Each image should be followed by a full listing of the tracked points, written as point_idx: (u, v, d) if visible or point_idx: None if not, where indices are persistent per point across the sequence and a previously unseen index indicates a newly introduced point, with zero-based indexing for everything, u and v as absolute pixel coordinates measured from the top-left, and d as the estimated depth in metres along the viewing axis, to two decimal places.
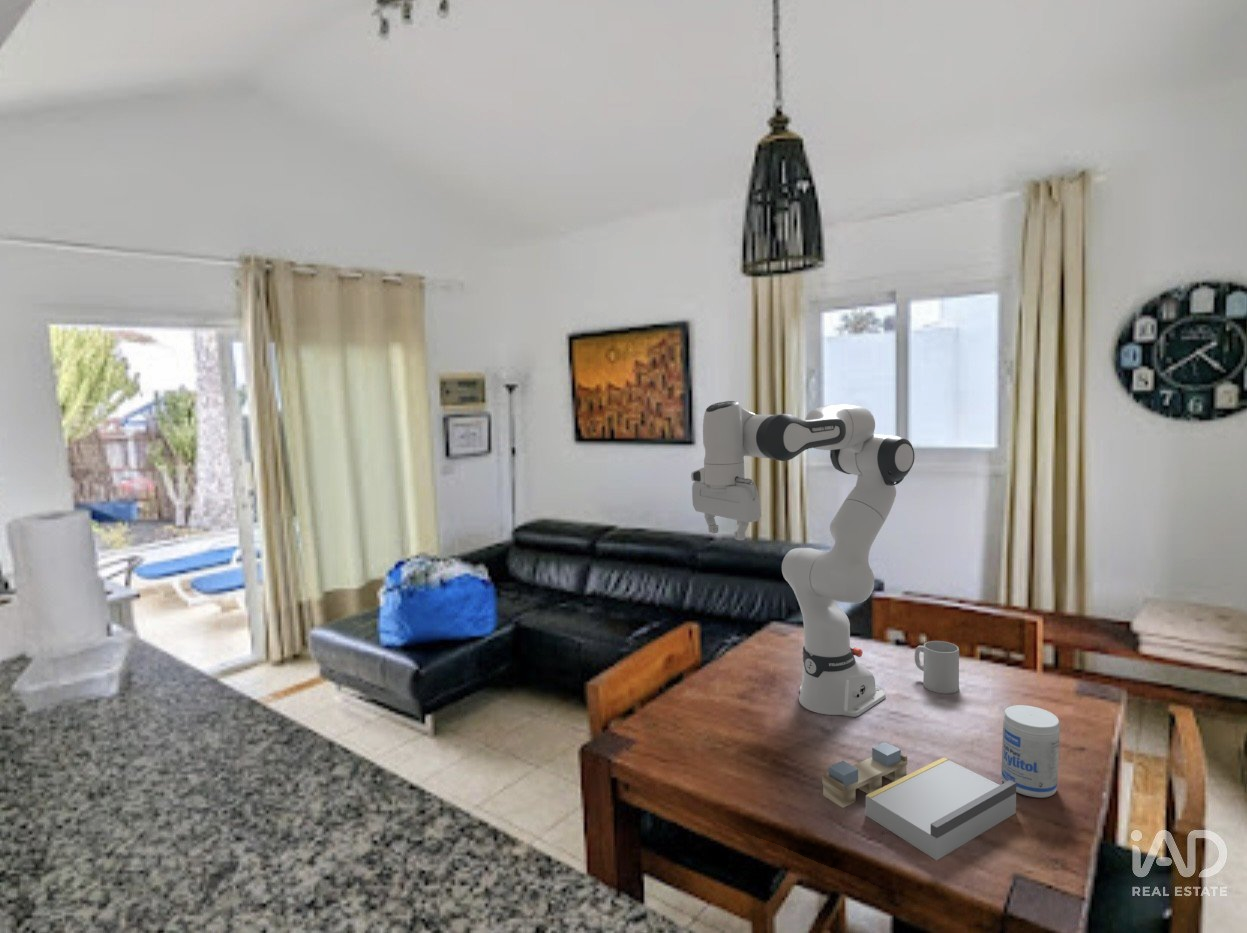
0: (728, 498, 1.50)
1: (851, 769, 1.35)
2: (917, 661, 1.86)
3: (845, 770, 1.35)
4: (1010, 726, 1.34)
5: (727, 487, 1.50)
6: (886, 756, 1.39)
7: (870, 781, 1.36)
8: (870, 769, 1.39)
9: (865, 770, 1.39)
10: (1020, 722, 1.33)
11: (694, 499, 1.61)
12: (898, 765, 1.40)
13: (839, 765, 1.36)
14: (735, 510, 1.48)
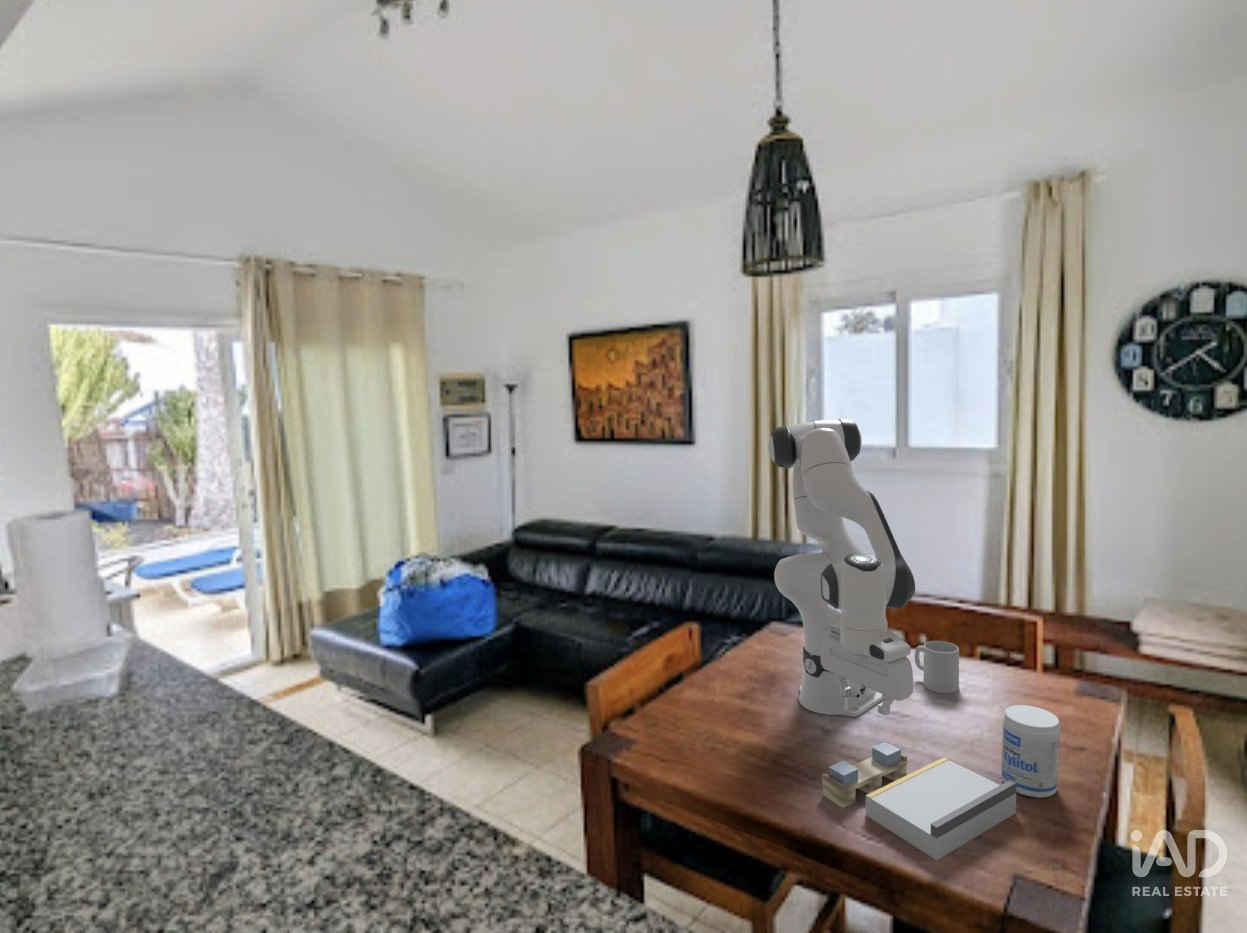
0: None
1: (851, 769, 1.35)
2: (917, 661, 1.86)
3: (845, 770, 1.35)
4: (1010, 726, 1.34)
5: None
6: (886, 756, 1.39)
7: (870, 781, 1.36)
8: (870, 769, 1.39)
9: (865, 770, 1.39)
10: (1020, 722, 1.33)
11: None
12: (898, 765, 1.40)
13: (839, 765, 1.37)
14: None
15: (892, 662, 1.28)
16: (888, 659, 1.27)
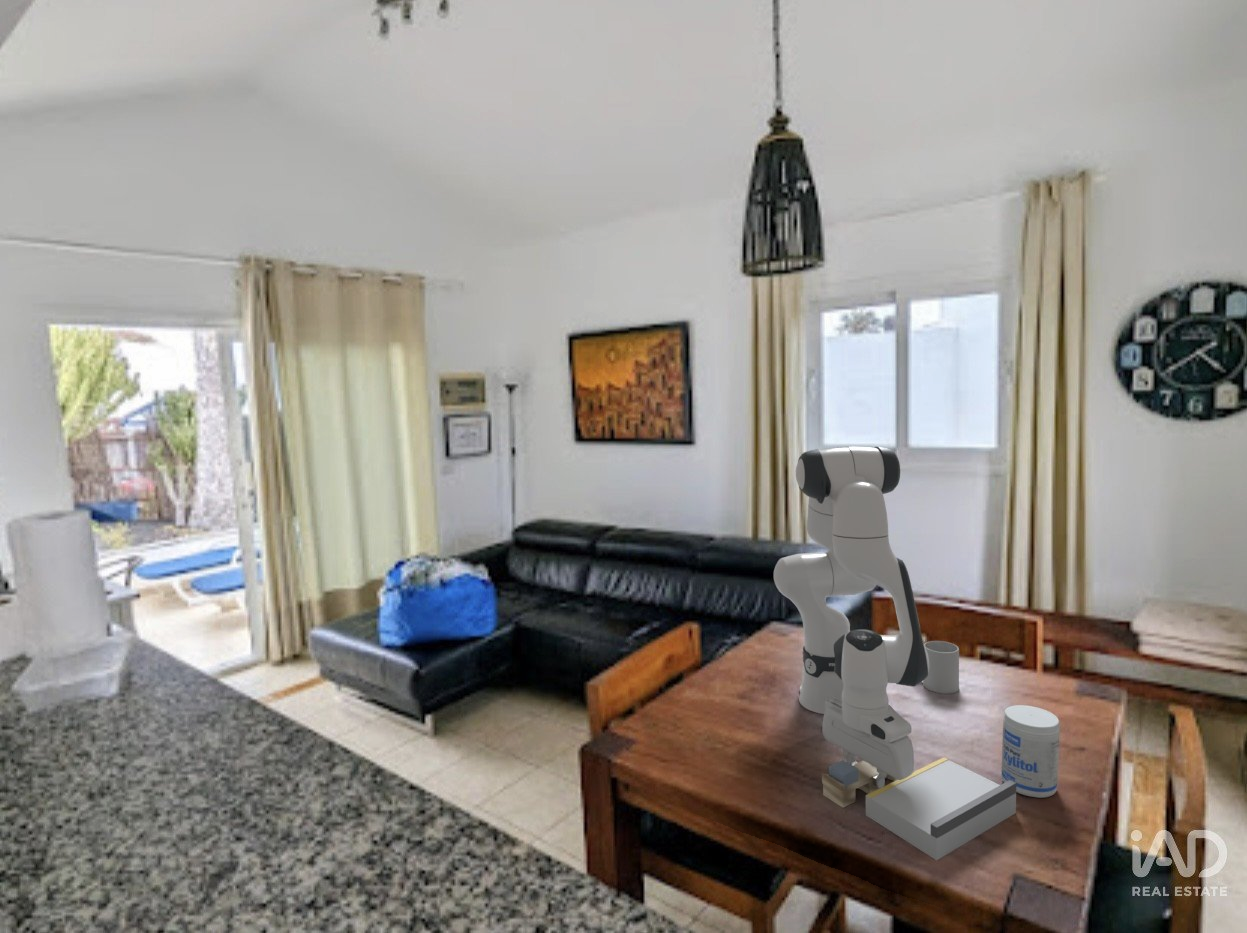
0: None
1: (851, 768, 1.35)
2: None
3: (845, 770, 1.35)
4: (1010, 726, 1.34)
5: None
6: None
7: (870, 781, 1.36)
8: (870, 769, 1.39)
9: (865, 770, 1.39)
10: (1020, 722, 1.33)
11: None
12: None
13: (839, 765, 1.36)
14: None
15: (893, 742, 1.30)
16: (889, 740, 1.29)
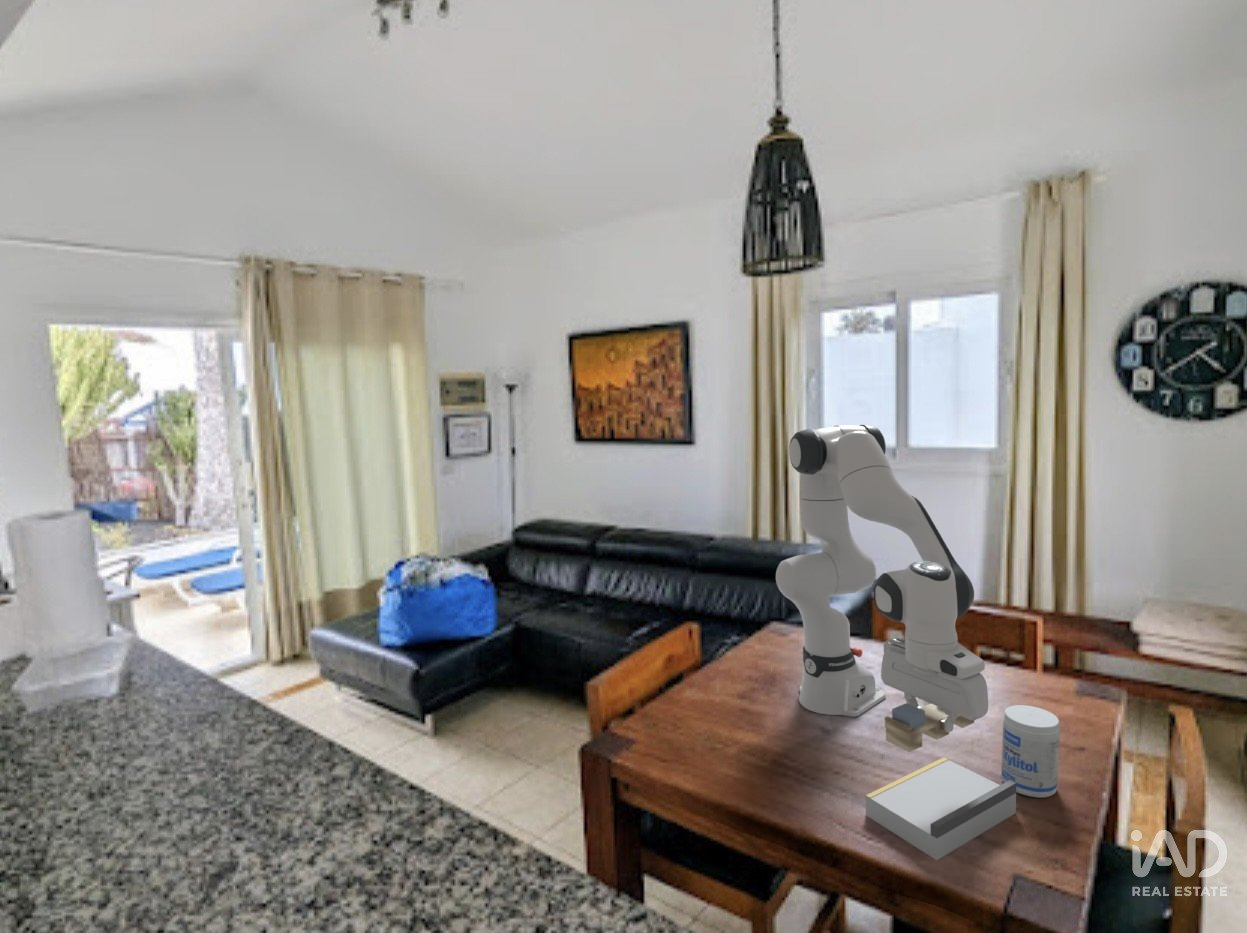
0: None
1: (917, 710, 1.24)
2: None
3: (910, 712, 1.24)
4: (1010, 726, 1.34)
5: None
6: None
7: (938, 725, 1.25)
8: (936, 713, 1.28)
9: (930, 714, 1.28)
10: (1020, 722, 1.33)
11: None
12: None
13: (903, 707, 1.26)
14: None
15: (966, 678, 1.19)
16: (962, 676, 1.18)
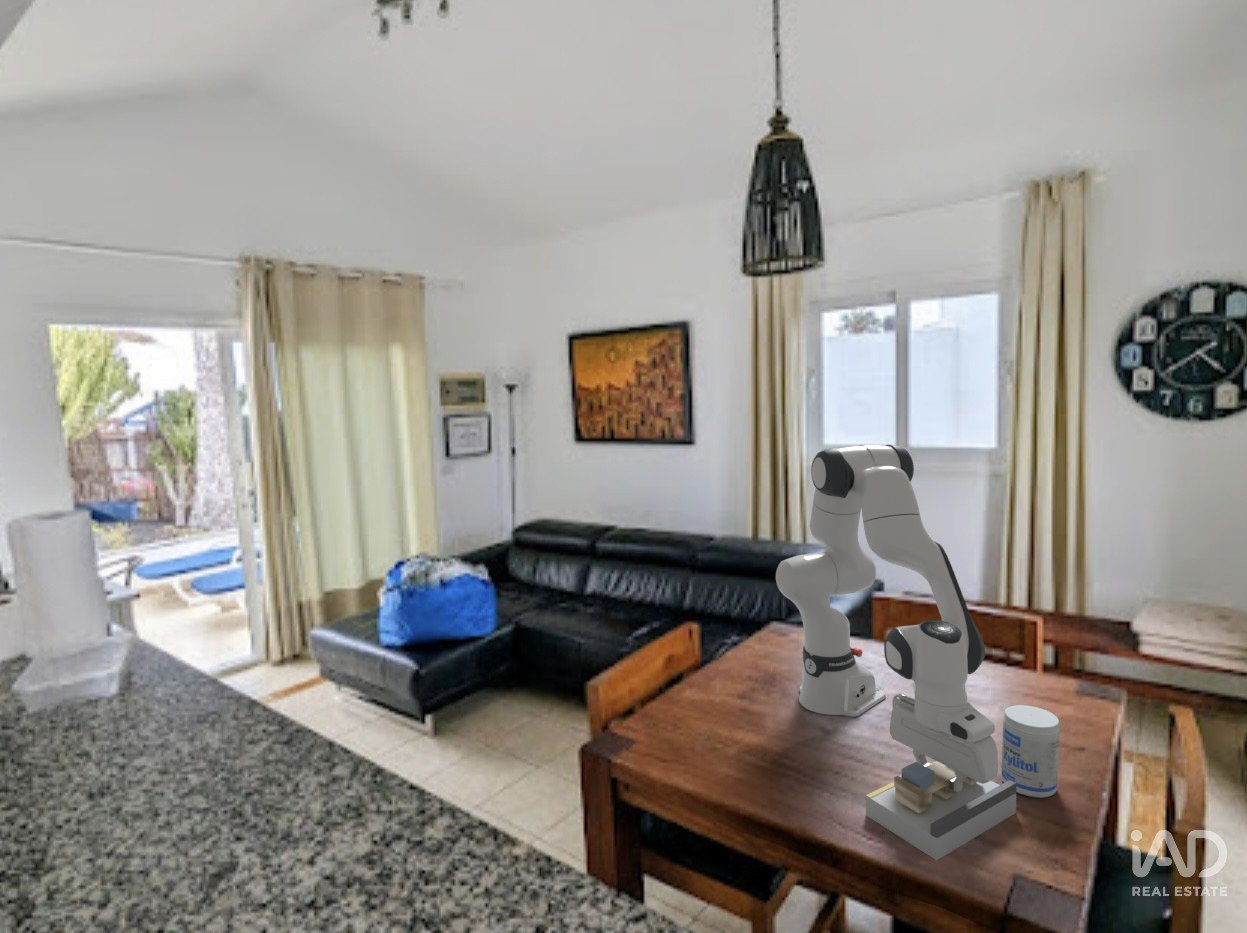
0: None
1: (927, 771, 1.24)
2: None
3: (920, 772, 1.24)
4: (1010, 726, 1.34)
5: None
6: None
7: (947, 785, 1.26)
8: (945, 771, 1.28)
9: (940, 772, 1.28)
10: (1020, 722, 1.33)
11: None
12: None
13: (913, 767, 1.26)
14: None
15: (976, 742, 1.19)
16: (972, 740, 1.18)
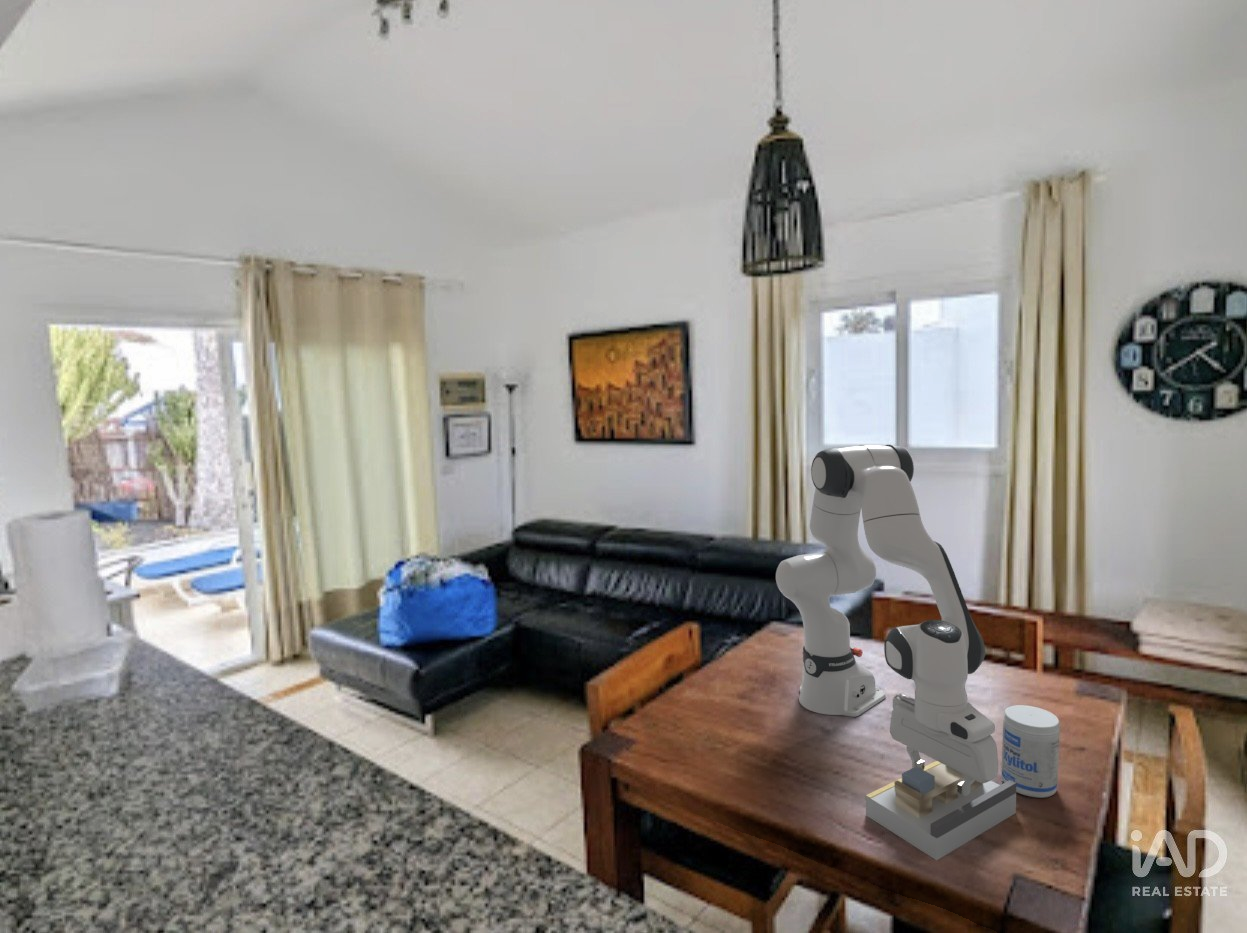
0: None
1: (927, 776, 1.25)
2: None
3: (920, 777, 1.24)
4: (1010, 726, 1.34)
5: None
6: None
7: (947, 789, 1.26)
8: (945, 776, 1.28)
9: (940, 777, 1.28)
10: (1020, 722, 1.33)
11: None
12: None
13: (913, 772, 1.26)
14: None
15: (976, 742, 1.19)
16: (973, 739, 1.18)
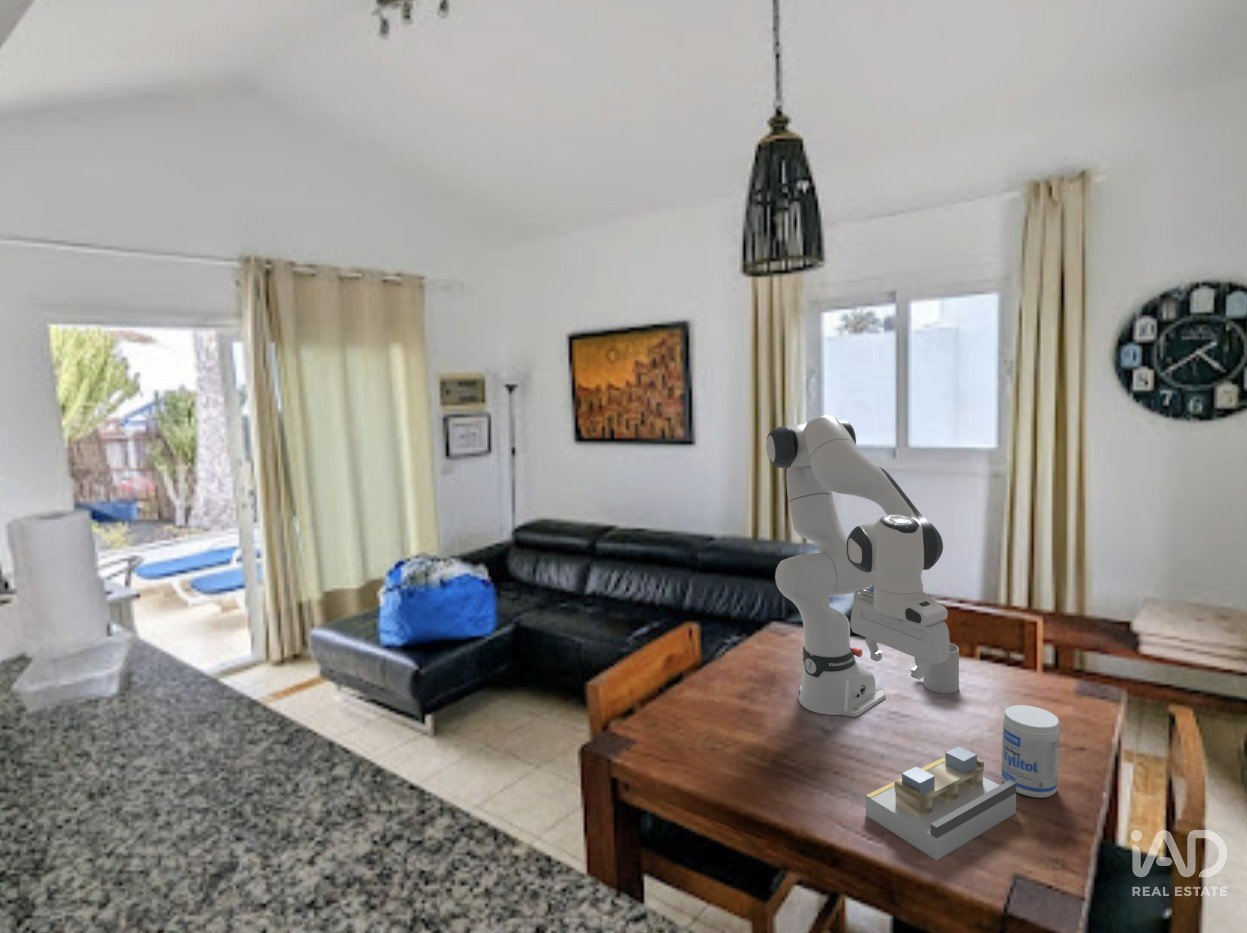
0: None
1: (927, 776, 1.25)
2: None
3: (920, 777, 1.24)
4: (1010, 726, 1.34)
5: None
6: (962, 762, 1.29)
7: (947, 789, 1.26)
8: (945, 776, 1.28)
9: (940, 777, 1.28)
10: (1020, 722, 1.33)
11: None
12: (975, 771, 1.30)
13: (913, 772, 1.26)
14: None
15: (929, 625, 1.25)
16: (925, 623, 1.24)
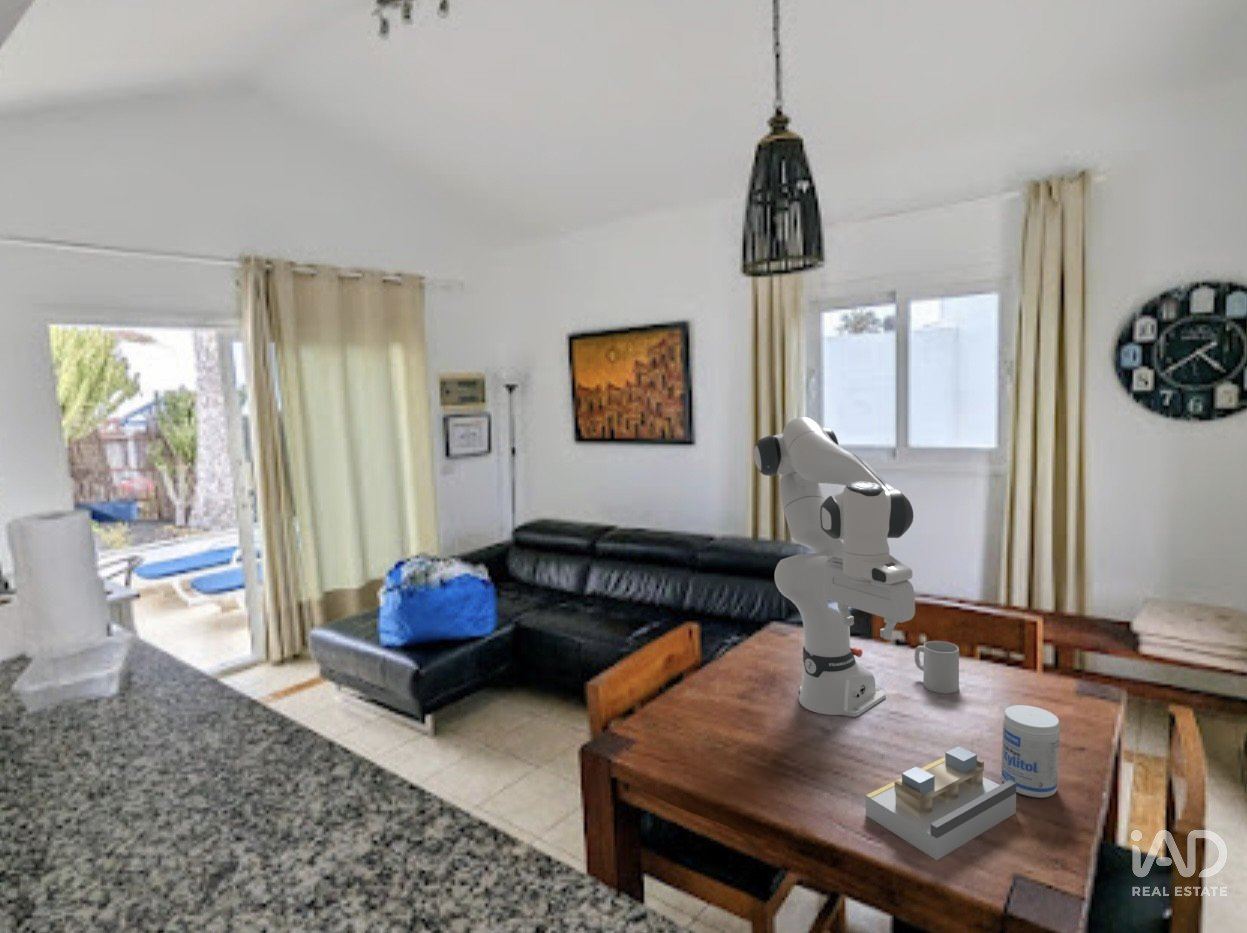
0: None
1: (927, 776, 1.25)
2: (917, 661, 1.86)
3: (920, 777, 1.24)
4: (1010, 726, 1.34)
5: None
6: (962, 762, 1.29)
7: (947, 789, 1.26)
8: (945, 776, 1.28)
9: (940, 777, 1.28)
10: (1020, 722, 1.33)
11: None
12: (975, 771, 1.30)
13: (913, 772, 1.26)
14: None
15: (894, 584, 1.30)
16: (890, 581, 1.29)
